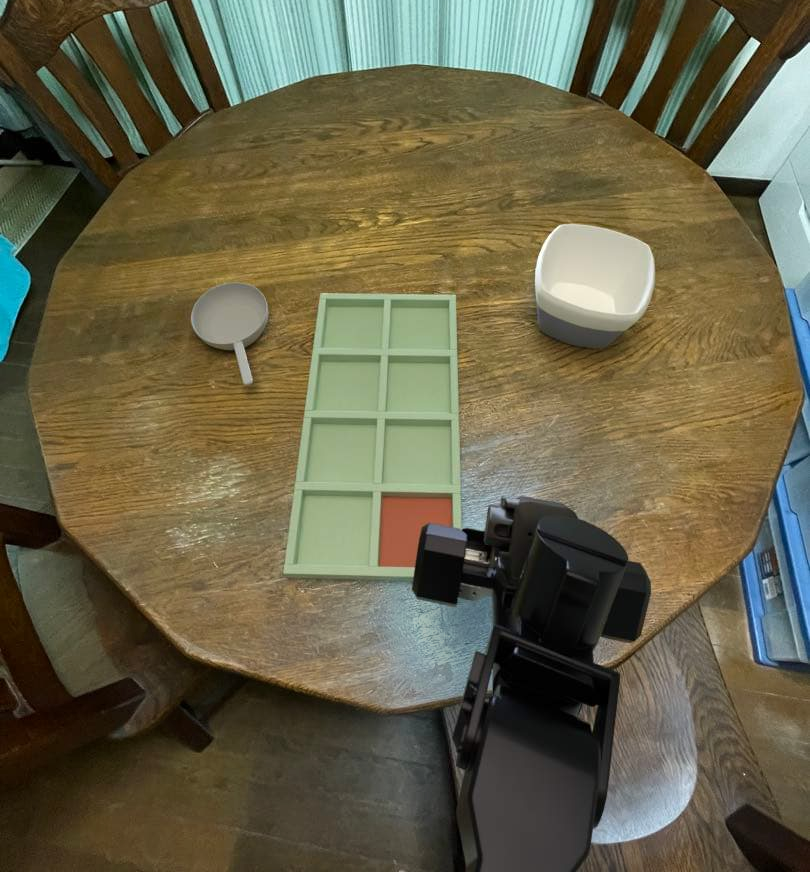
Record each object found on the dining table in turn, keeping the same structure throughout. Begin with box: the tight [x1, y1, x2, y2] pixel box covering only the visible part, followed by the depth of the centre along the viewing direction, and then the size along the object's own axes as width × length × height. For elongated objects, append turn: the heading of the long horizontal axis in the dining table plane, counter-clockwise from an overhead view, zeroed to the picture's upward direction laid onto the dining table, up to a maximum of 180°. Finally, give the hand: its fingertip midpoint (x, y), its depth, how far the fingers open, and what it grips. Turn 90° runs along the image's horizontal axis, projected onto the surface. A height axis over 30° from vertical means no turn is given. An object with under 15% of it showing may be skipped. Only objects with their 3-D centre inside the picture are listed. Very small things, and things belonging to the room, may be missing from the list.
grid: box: [282, 292, 463, 582], centre depth 77 cm, size 39×20×2 cm, turn 178°
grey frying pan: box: [190, 281, 269, 386], centre depth 83 cm, size 11×18×4 cm, turn 21°
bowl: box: [534, 223, 656, 350], centre depth 82 cm, size 15×15×11 cm
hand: (522, 530), depth 57 cm, fingers closed on cork, 5 cm apart
